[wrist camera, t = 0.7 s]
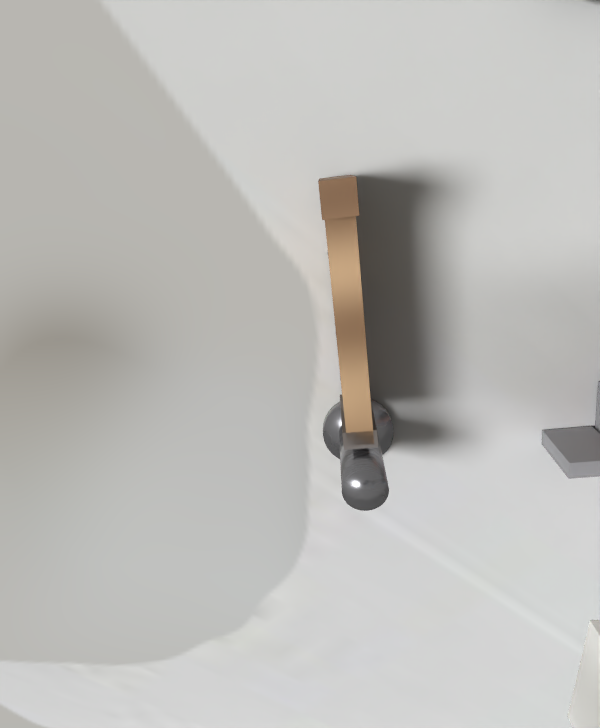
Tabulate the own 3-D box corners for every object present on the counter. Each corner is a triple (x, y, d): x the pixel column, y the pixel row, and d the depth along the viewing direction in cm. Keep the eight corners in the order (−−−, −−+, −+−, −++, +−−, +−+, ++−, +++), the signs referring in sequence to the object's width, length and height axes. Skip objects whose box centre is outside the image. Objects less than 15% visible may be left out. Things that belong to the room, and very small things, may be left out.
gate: (370, 406, 33) (380, 457, 27) (341, 409, 33) (344, 459, 27) (352, 174, 28) (358, 176, 22) (317, 178, 28) (315, 181, 22)
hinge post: (390, 394, 33) (406, 449, 26) (394, 455, 34) (410, 523, 28) (319, 400, 33) (318, 457, 27) (326, 461, 35) (327, 529, 28)
